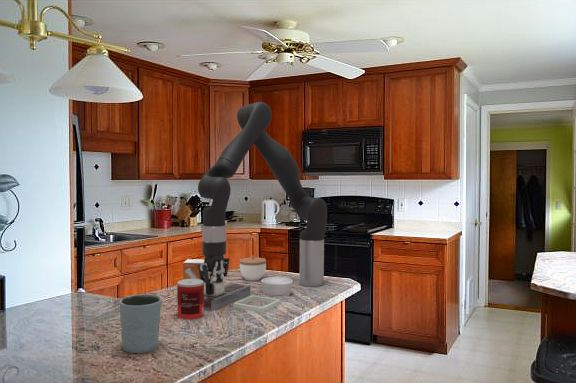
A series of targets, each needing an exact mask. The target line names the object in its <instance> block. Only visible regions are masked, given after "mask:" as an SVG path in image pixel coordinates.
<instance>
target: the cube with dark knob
mask: <svg viewBox="0 0 576 383" xmlns="http://www.w3.org/2000/svg"><path fill="white" fill-rule="evenodd" d="M212 283H213V294H212V295H207V294H206V284H205V283H204V296H207V297H214V298H218V297H220V296H223V295H225V285H226V283H225V281H224V280H223V281H217V280H216V279H213V282H212Z"/></svg>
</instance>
